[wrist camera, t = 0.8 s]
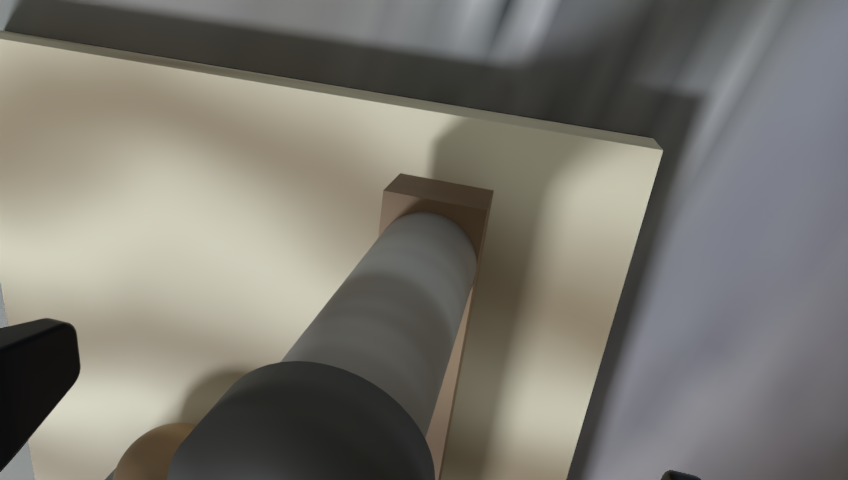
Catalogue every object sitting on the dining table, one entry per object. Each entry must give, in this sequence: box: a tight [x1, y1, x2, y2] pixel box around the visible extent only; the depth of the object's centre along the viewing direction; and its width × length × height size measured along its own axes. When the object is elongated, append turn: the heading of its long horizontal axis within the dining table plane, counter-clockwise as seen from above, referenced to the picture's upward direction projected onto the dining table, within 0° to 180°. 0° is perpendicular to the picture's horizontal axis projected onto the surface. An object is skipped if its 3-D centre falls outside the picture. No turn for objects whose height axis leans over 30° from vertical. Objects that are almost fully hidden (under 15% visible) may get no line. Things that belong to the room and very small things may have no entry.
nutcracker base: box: [0, 30, 663, 480], centre depth 18 cm, size 20×20×6 cm
